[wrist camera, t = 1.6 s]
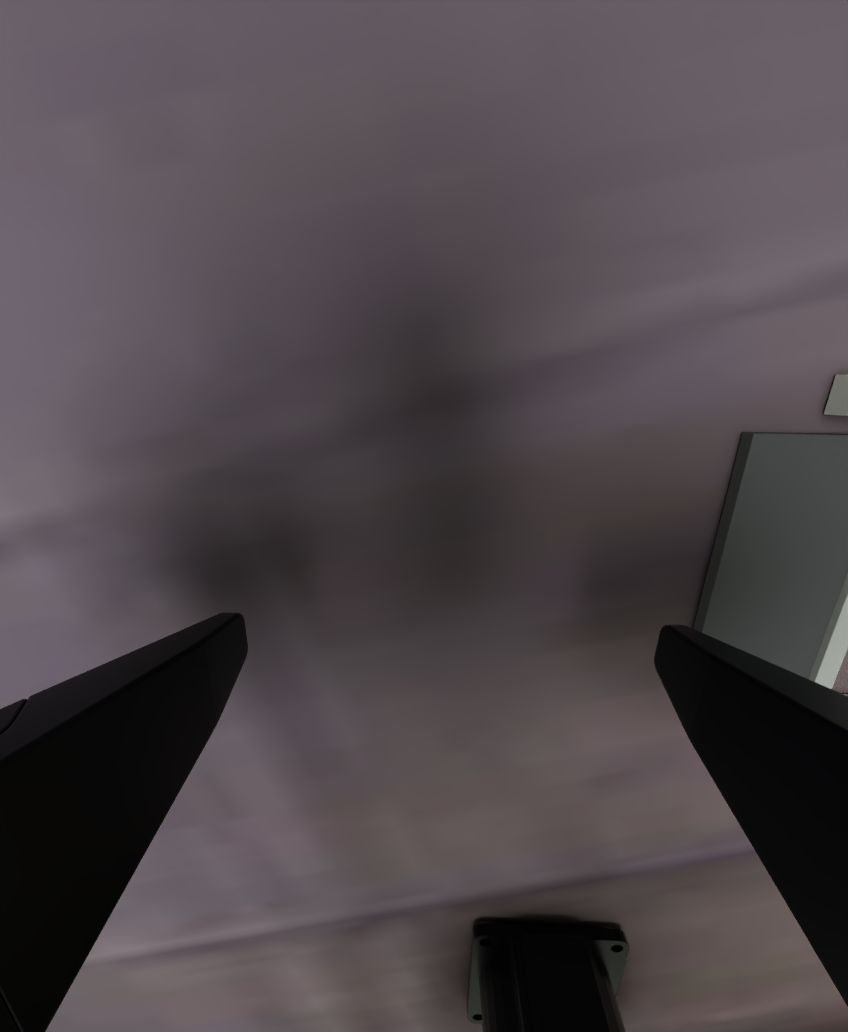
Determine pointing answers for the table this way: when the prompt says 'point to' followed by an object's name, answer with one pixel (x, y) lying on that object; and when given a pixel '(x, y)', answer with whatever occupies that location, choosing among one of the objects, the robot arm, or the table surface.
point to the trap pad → (783, 554)
